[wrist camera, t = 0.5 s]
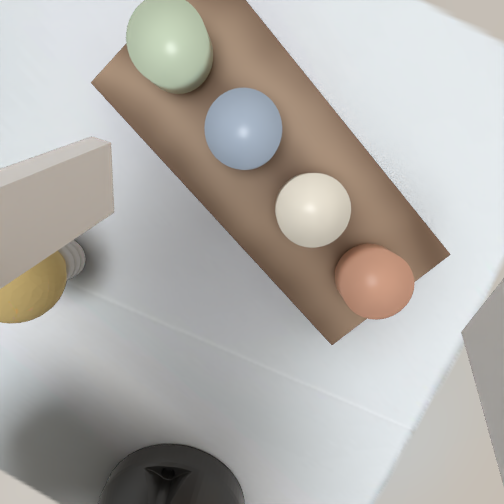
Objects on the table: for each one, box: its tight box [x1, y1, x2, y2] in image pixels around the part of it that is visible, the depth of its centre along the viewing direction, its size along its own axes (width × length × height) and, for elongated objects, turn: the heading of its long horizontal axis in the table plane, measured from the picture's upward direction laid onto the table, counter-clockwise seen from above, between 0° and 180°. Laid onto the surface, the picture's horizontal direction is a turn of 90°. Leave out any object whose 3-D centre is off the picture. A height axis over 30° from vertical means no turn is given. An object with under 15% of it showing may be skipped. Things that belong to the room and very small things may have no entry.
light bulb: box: [0, 240, 86, 323], centre depth 27 cm, size 6×6×10 cm
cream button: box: [275, 173, 351, 248], centre depth 25 cm, size 5×5×3 cm
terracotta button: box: [334, 244, 414, 319], centre depth 26 cm, size 5×5×3 cm
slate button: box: [204, 88, 282, 170], centre depth 24 cm, size 5×5×3 cm
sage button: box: [126, 0, 213, 94], centre depth 23 cm, size 5×5×3 cm
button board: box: [91, 0, 450, 345], centre depth 28 cm, size 12×28×3 cm, turn 42°
